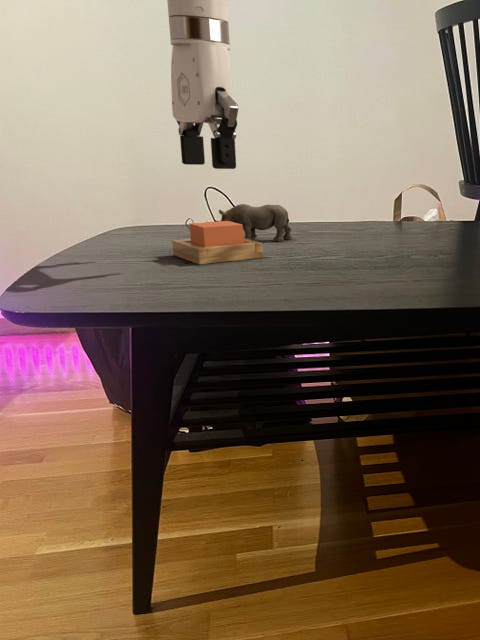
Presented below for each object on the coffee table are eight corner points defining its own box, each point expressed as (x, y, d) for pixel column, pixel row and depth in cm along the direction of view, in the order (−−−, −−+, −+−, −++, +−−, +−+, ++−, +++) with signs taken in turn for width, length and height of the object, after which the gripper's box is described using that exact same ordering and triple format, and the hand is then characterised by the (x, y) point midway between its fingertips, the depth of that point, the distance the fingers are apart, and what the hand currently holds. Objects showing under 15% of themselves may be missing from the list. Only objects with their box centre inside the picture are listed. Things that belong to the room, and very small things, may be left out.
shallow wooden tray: (199, 264, 98) (198, 249, 97) (173, 255, 104) (171, 240, 103) (263, 257, 105) (262, 242, 104) (235, 249, 111) (234, 235, 110)
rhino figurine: (208, 238, 119) (205, 202, 117) (291, 237, 123) (290, 203, 121) (206, 242, 115) (203, 205, 113) (292, 241, 119) (291, 205, 117)
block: (205, 255, 101) (203, 227, 99) (191, 250, 104) (189, 223, 102) (244, 251, 105) (242, 224, 103) (230, 247, 108) (228, 220, 106)
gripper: (146, 35, 98) (157, 162, 103) (201, 27, 86) (210, 170, 92) (198, 42, 103) (206, 163, 108) (257, 35, 92) (263, 170, 97)
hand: (208, 166), depth 100 cm, fingers open, 9 cm apart
